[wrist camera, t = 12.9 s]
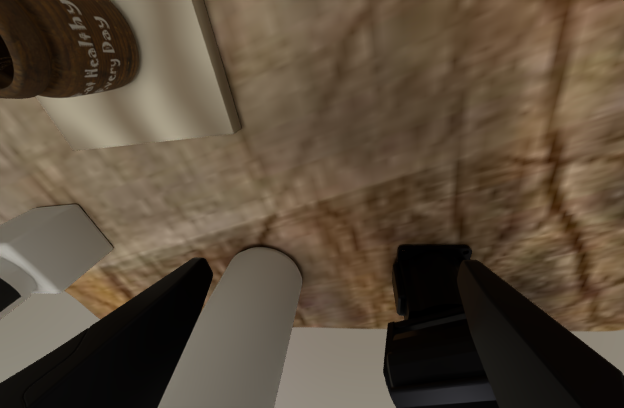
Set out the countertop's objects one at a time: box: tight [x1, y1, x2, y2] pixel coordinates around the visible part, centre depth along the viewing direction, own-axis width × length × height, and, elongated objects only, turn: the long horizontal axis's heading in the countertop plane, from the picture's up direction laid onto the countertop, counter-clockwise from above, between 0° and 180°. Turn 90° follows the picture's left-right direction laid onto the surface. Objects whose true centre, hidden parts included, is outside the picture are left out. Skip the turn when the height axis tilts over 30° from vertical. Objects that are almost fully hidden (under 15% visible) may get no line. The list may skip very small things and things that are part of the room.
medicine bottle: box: [0, 204, 113, 320], centre depth 26 cm, size 7×7×12 cm
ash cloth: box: [35, 0, 241, 151], centre depth 17 cm, size 16×14×2 cm
